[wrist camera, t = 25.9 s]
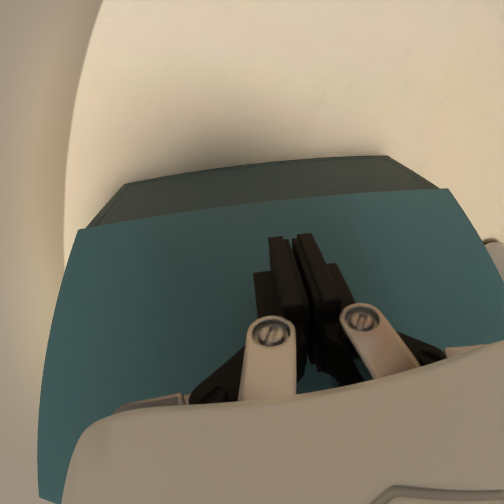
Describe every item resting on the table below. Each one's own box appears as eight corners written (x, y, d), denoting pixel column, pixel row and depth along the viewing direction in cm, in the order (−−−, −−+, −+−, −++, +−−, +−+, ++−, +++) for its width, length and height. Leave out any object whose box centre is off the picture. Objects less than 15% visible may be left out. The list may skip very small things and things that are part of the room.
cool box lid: (538, 419, 7) (548, 415, 7) (49, 497, 7) (38, 497, 7) (444, 197, 17) (448, 187, 16) (83, 237, 17) (78, 229, 16)
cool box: (373, 284, 32) (405, 340, 25) (163, 310, 32) (149, 373, 25) (387, 155, 25) (442, 189, 17) (124, 184, 25) (83, 230, 17)
